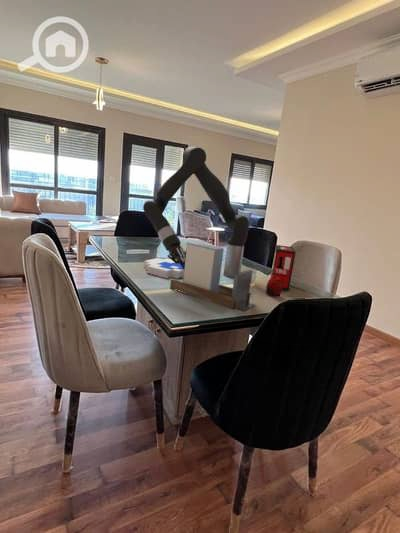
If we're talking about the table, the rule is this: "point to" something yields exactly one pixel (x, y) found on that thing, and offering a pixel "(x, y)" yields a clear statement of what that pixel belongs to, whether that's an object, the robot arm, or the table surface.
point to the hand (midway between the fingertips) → (187, 270)
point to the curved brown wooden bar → (207, 293)
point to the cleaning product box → (283, 265)
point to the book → (203, 266)
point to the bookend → (241, 290)
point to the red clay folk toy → (274, 286)
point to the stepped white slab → (164, 268)
